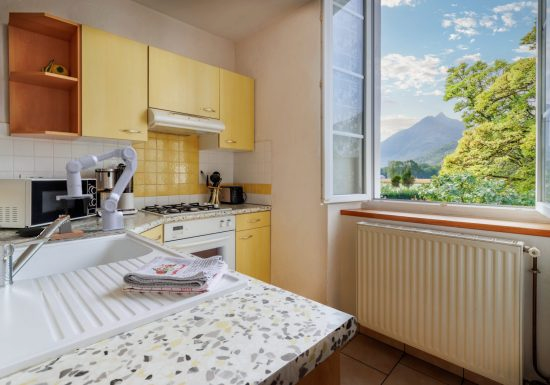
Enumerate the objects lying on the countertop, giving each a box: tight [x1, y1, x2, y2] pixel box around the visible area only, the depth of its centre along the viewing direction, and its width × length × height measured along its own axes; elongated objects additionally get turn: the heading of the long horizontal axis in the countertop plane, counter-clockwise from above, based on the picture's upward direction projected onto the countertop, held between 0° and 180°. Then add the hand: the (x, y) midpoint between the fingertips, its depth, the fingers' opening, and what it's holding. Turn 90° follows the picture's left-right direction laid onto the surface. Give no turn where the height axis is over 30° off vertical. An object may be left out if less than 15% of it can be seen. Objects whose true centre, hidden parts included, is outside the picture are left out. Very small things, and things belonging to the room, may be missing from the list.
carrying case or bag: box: [15, 226, 46, 238], centre depth 143 cm, size 11×3×15 cm
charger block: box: [58, 220, 73, 234], centre depth 134 cm, size 4×5×7 cm
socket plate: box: [51, 228, 85, 240], centre depth 135 cm, size 12×13×2 cm
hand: (76, 213), depth 143 cm, fingers open, 7 cm apart
